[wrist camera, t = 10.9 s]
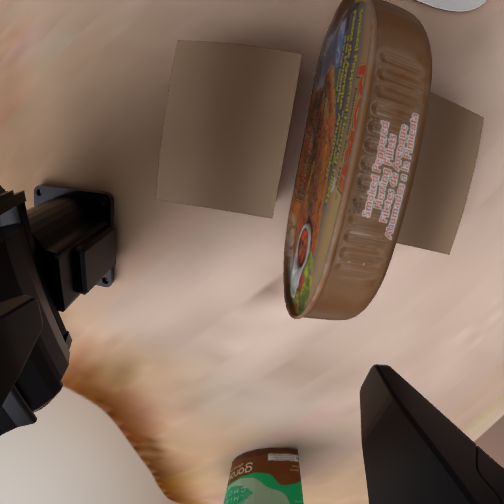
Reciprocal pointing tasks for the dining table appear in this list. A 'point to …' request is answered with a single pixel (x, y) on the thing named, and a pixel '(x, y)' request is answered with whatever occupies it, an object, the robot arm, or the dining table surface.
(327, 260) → the tin
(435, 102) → the slotted rail
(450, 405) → the dining table surface
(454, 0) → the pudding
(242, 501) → the food container
